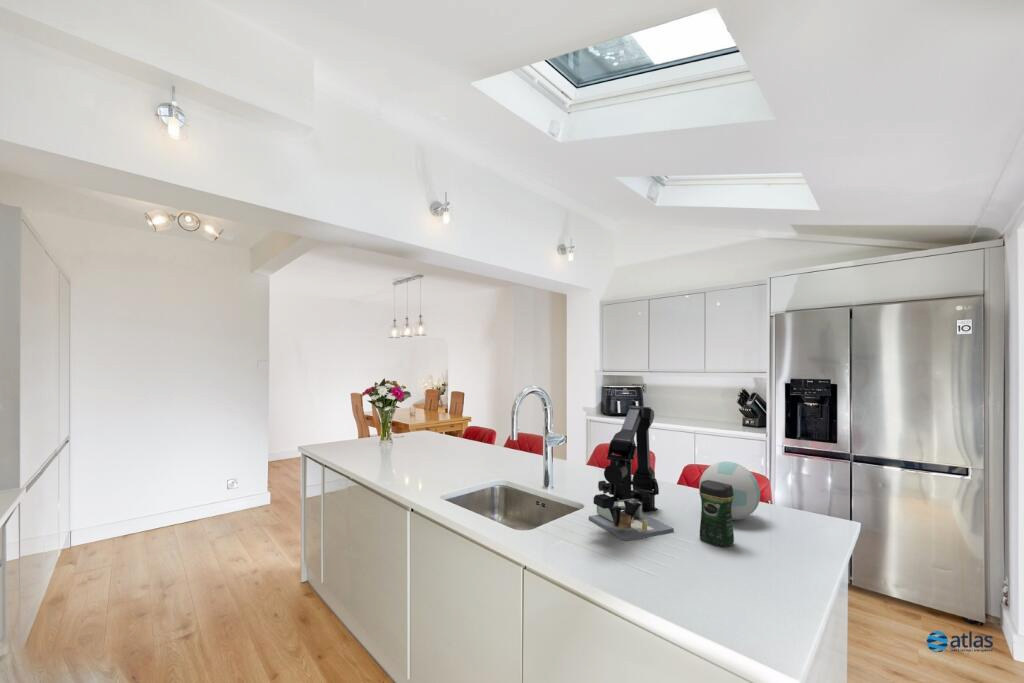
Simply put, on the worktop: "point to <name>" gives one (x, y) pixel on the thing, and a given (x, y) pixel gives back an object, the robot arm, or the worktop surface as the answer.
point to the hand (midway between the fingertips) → (621, 525)
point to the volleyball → (736, 486)
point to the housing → (608, 515)
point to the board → (634, 527)
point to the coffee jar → (716, 513)
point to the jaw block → (624, 521)
